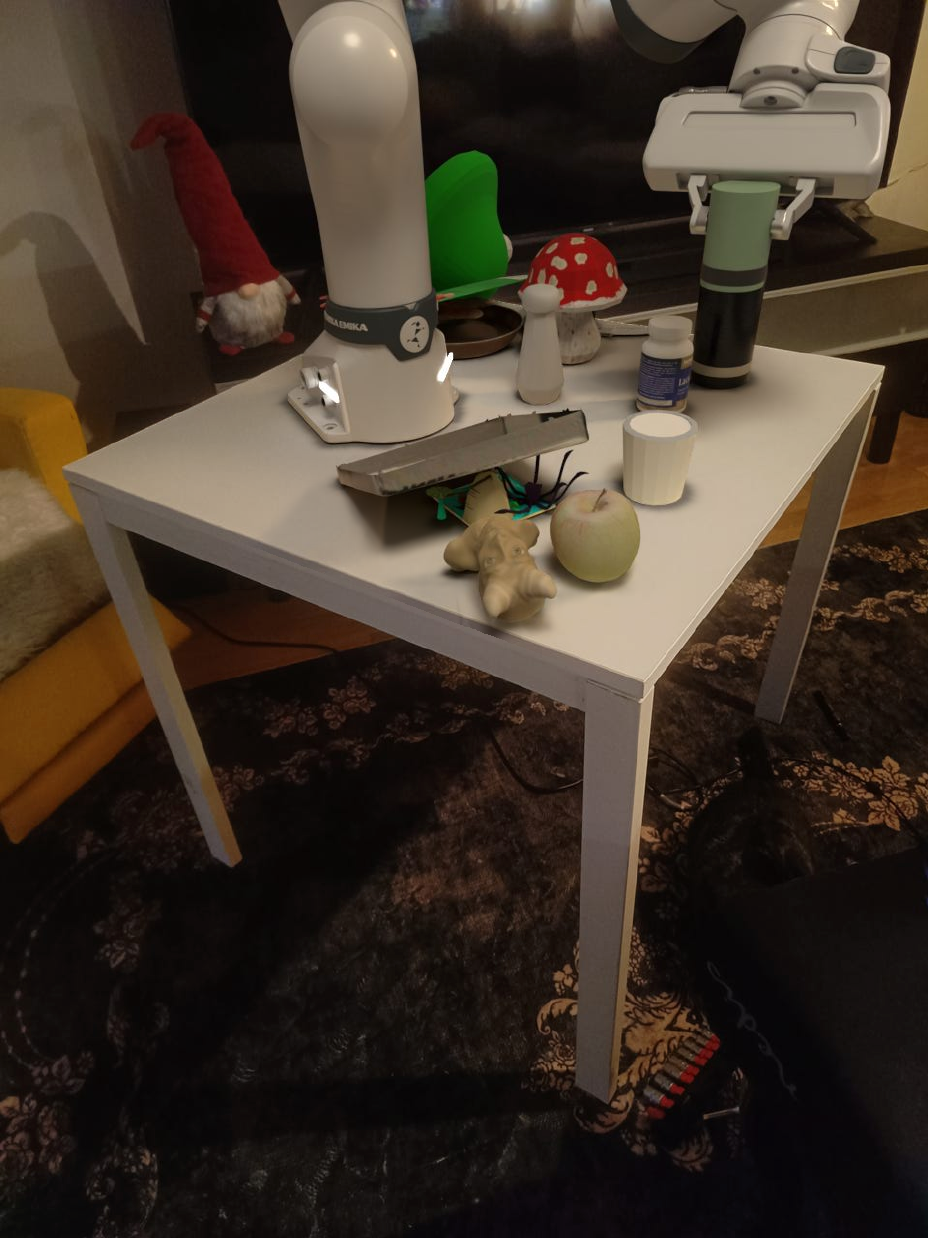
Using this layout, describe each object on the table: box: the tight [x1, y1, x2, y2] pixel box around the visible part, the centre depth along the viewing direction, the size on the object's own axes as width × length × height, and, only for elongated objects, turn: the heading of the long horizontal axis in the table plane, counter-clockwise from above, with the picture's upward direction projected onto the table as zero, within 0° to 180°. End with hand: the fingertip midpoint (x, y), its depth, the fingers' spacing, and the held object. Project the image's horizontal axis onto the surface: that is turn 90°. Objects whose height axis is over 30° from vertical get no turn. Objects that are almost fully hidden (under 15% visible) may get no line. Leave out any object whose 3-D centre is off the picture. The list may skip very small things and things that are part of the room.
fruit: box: [549, 487, 641, 583], centre depth 65 cm, size 8×7×8 cm
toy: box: [424, 150, 513, 299], centre depth 120 cm, size 26×24×15 cm
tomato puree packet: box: [436, 274, 528, 302], centre depth 108 cm, size 15×1×20 cm
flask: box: [690, 266, 769, 390], centre depth 95 cm, size 7×7×14 cm
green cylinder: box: [699, 180, 781, 292], centre depth 71 cm, size 6×6×8 cm
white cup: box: [622, 410, 699, 506], centre depth 76 cm, size 7×7×7 cm
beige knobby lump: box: [442, 516, 558, 623], centre depth 63 cm, size 8×7×12 cm
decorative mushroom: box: [517, 233, 628, 365], centre depth 102 cm, size 14×14×15 cm
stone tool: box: [438, 297, 495, 323], centre depth 113 cm, size 14×3×15 cm
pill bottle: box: [635, 314, 693, 414], centre depth 90 cm, size 6×6×10 cm
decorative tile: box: [335, 407, 590, 497], centre depth 75 cm, size 20×3×20 cm
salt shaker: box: [515, 284, 565, 406], centre depth 93 cm, size 6×6×13 cm
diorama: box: [425, 449, 589, 527], centre depth 75 cm, size 11×15×6 cm
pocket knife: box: [597, 326, 649, 338], centre depth 113 cm, size 14×1×2 cm
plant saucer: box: [436, 303, 524, 360], centre depth 113 cm, size 18×18×3 cm
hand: (738, 233), depth 70 cm, fingers closed on green cylinder, 5 cm apart
